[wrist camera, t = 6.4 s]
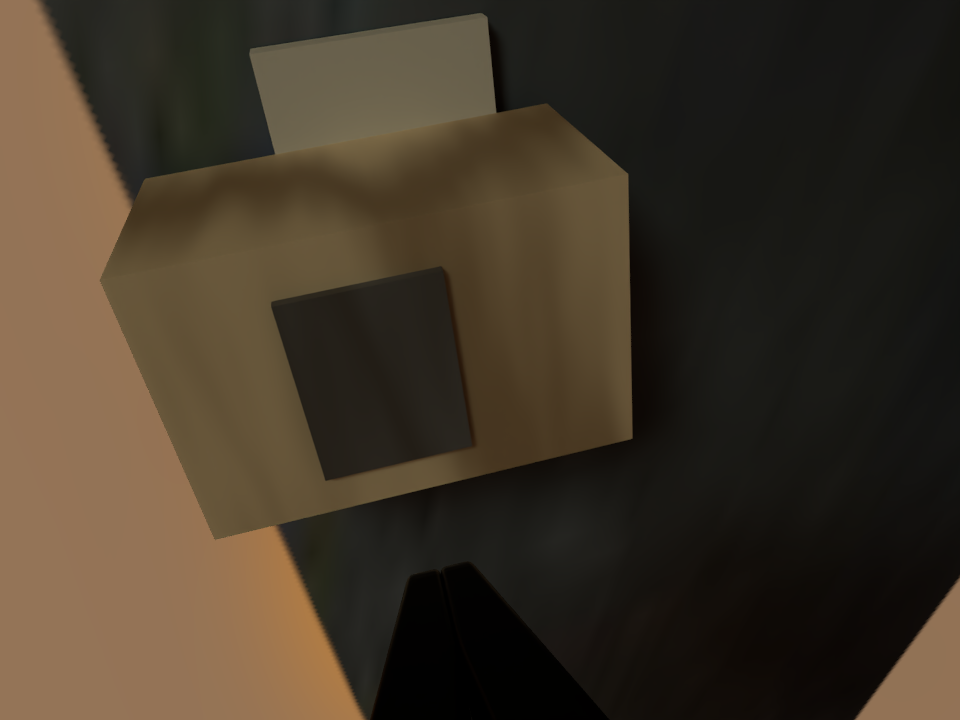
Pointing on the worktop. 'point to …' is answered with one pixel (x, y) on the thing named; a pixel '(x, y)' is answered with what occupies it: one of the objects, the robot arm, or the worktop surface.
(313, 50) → the mat
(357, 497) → the wooden block
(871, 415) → the worktop surface
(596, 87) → the worktop surface
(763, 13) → the worktop surface
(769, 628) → the worktop surface
